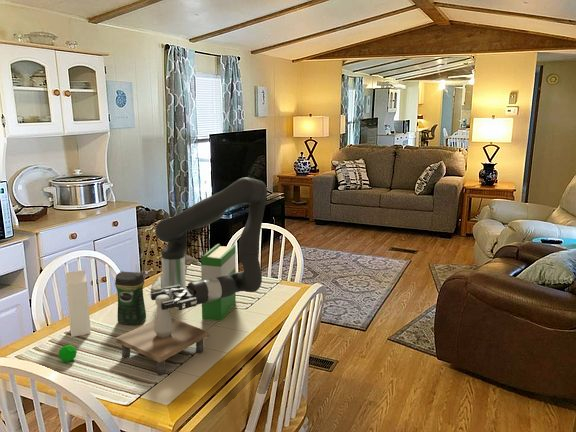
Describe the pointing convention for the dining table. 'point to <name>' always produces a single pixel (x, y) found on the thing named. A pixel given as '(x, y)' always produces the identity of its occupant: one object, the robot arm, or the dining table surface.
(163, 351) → the small wooden table
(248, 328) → the dining table surface
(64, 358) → the polyhedron
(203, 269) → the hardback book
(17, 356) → the dining table surface
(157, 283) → the long grey stone
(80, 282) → the milk
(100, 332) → the dining table surface
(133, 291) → the coffee jar
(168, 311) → the salt shaker
